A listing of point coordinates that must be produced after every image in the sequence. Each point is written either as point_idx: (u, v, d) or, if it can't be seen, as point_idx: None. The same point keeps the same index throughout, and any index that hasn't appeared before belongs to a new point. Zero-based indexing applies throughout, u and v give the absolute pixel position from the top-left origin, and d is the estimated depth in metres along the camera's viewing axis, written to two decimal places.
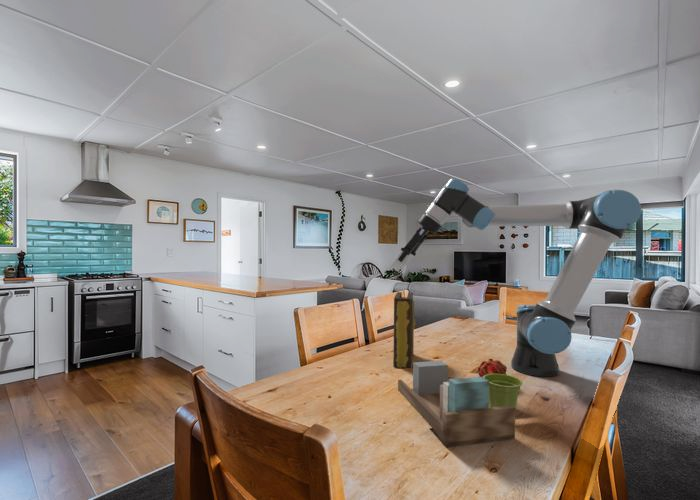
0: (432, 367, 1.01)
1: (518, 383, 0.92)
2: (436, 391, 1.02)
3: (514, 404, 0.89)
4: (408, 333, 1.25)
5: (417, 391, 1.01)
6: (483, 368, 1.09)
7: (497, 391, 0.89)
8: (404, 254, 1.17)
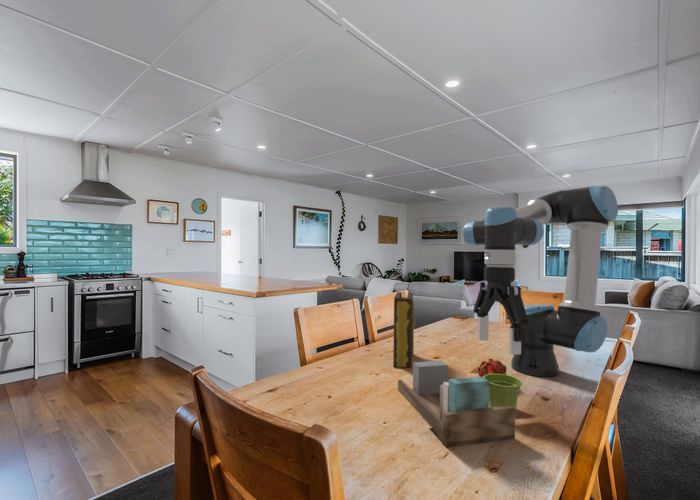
0: (432, 367, 1.01)
1: (518, 383, 0.92)
2: (436, 391, 1.02)
3: (514, 404, 0.89)
4: (408, 333, 1.25)
5: (417, 391, 1.01)
6: (483, 368, 1.09)
7: (497, 391, 0.89)
8: (519, 330, 0.85)
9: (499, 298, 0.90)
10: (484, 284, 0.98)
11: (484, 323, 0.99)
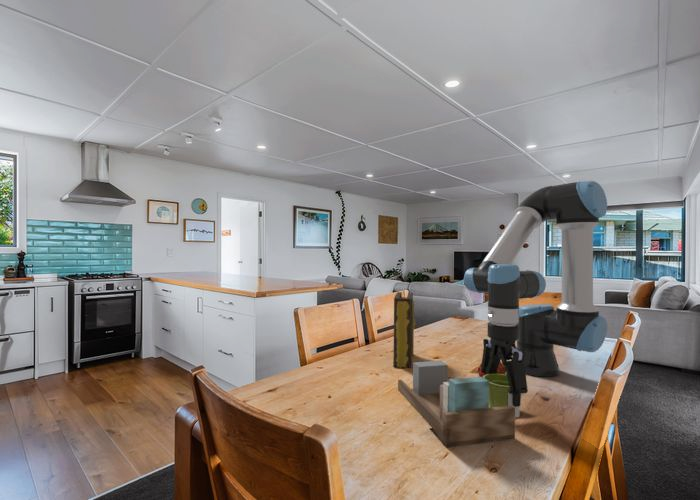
0: (432, 367, 1.01)
1: None
2: (436, 391, 1.02)
3: None
4: (408, 333, 1.25)
5: (417, 391, 1.01)
6: None
7: (497, 391, 0.89)
8: (518, 395, 0.86)
9: (502, 358, 0.90)
10: (487, 341, 0.97)
11: None
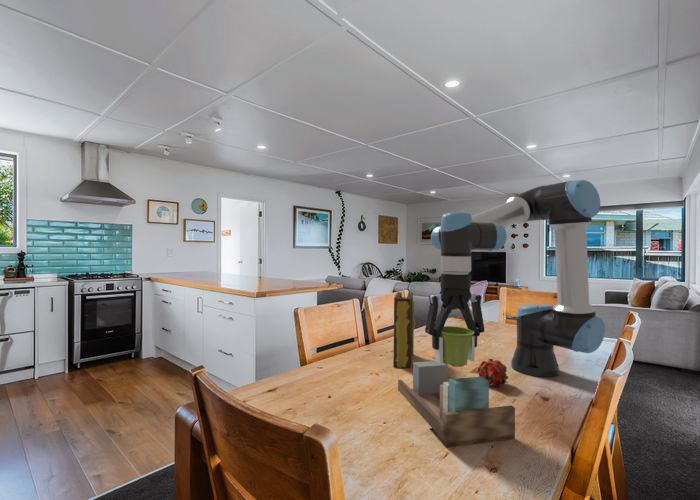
0: (432, 367, 1.01)
1: None
2: (436, 391, 1.02)
3: (445, 352, 0.89)
4: (408, 333, 1.25)
5: (417, 391, 1.01)
6: (483, 368, 1.09)
7: None
8: (433, 338, 0.89)
9: None
10: None
11: None
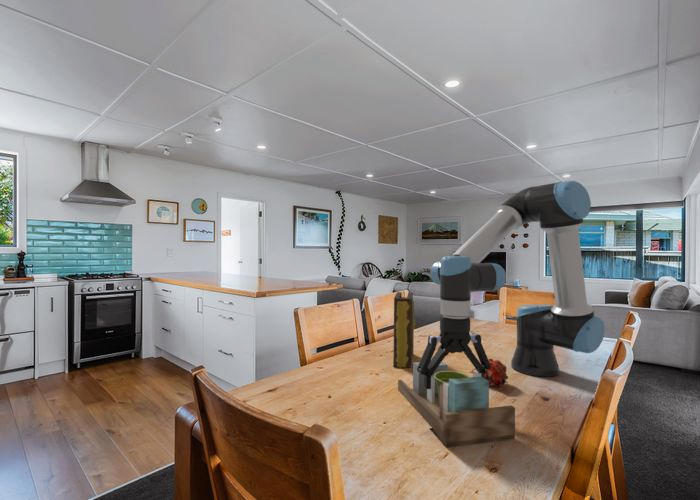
0: None
1: None
2: (436, 391, 1.02)
3: None
4: (408, 333, 1.25)
5: (417, 391, 1.01)
6: None
7: None
8: (425, 377, 0.89)
9: None
10: None
11: None
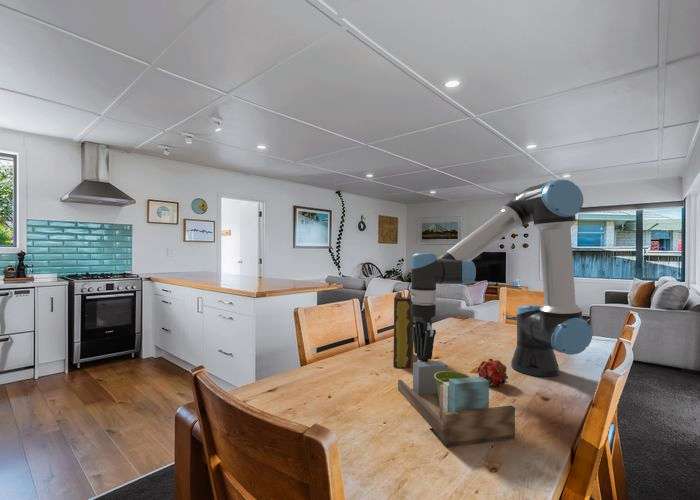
0: (432, 367, 1.01)
1: None
2: (436, 391, 1.02)
3: None
4: (408, 333, 1.25)
5: (417, 391, 1.01)
6: (483, 368, 1.09)
7: None
8: (425, 361, 1.06)
9: (419, 332, 1.07)
10: (414, 322, 1.13)
11: None
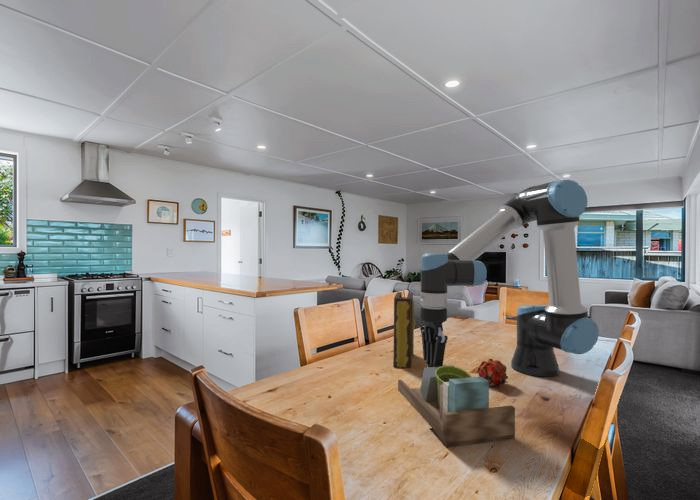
0: None
1: None
2: None
3: None
4: (408, 333, 1.25)
5: (425, 397, 0.96)
6: (483, 368, 1.09)
7: None
8: None
9: (429, 338, 1.00)
10: (423, 327, 1.06)
11: None
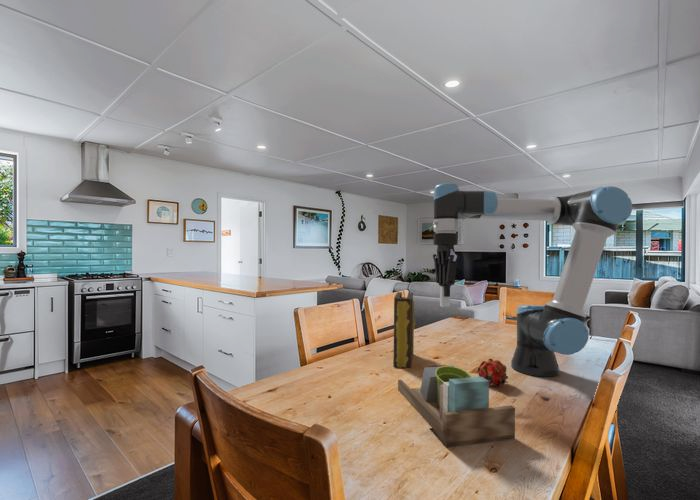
0: None
1: None
2: None
3: None
4: (408, 333, 1.25)
5: (425, 397, 0.96)
6: (483, 368, 1.09)
7: None
8: (448, 288, 1.11)
9: (442, 260, 1.11)
10: (435, 254, 1.17)
11: None
